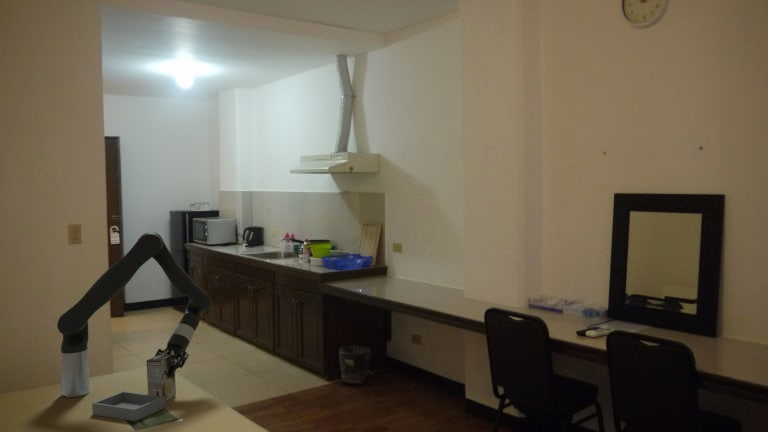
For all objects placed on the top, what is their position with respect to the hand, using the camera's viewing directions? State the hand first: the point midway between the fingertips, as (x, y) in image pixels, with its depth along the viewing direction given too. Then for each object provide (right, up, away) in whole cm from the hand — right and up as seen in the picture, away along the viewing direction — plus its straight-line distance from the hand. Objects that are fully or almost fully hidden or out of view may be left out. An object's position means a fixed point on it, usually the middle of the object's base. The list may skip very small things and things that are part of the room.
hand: (160, 375), depth 230 cm
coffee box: (0, -9, 0) cm, 9 cm away
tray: (-7, -10, -12) cm, 17 cm away
